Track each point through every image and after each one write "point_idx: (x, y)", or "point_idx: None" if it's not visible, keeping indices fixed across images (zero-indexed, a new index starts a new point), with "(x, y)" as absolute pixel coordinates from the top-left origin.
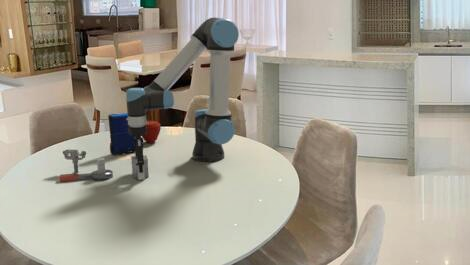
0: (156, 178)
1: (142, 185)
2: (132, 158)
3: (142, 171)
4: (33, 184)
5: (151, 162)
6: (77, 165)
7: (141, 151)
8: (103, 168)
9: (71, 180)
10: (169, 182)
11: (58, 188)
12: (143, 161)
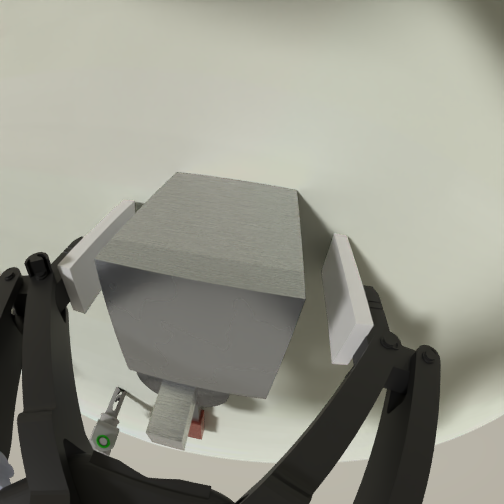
0: (350, 143)
1: (422, 268)
2: (194, 383)
3: (376, 297)
4: (203, 443)
5: (2, 128)
6: (112, 407)
7: (417, 479)
8: (191, 406)
9: (203, 418)
10: (474, 104)
11: (257, 435)
12: (438, 374)
